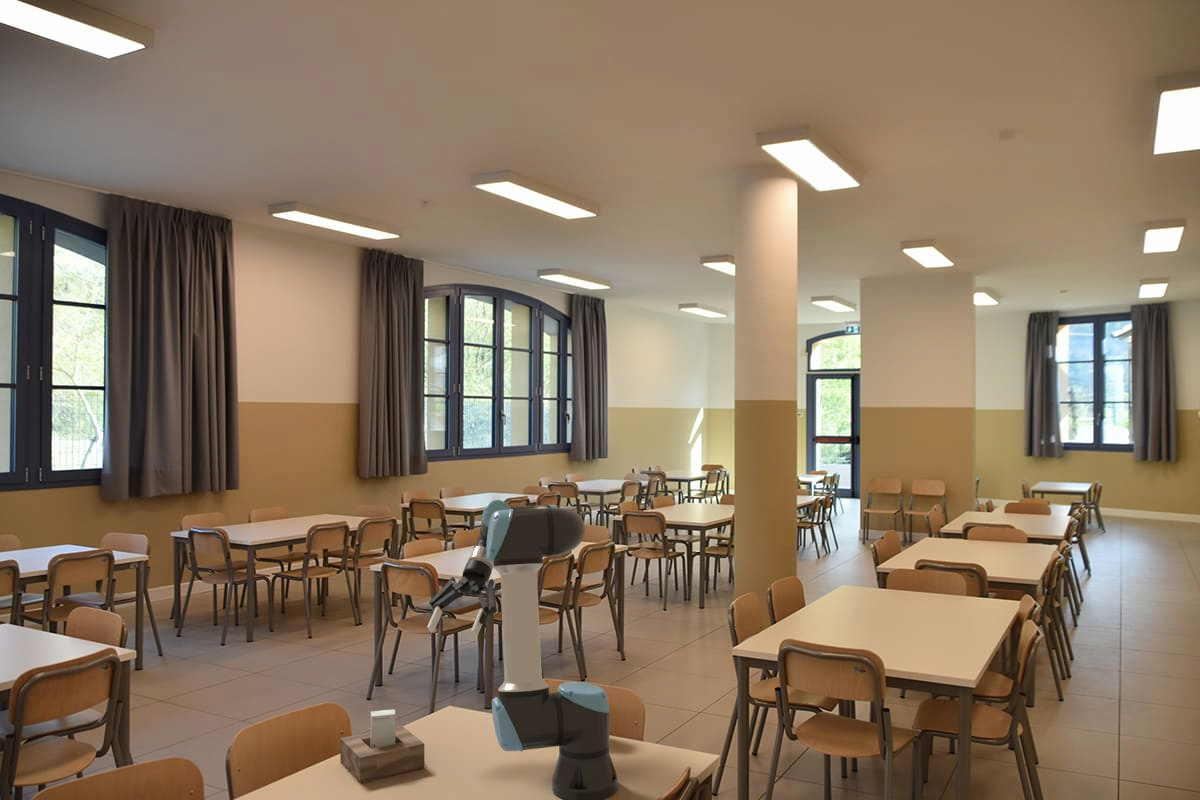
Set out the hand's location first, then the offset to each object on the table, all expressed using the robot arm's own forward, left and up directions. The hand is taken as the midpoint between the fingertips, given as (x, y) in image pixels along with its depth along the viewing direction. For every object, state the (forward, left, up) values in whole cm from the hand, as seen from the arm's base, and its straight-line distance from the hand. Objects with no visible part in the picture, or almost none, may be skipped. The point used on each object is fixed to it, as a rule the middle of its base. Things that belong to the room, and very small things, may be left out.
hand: (451, 631), depth 226 cm
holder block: (-3, +20, -30) cm, 36 cm away
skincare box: (-3, +20, -29) cm, 35 cm away
